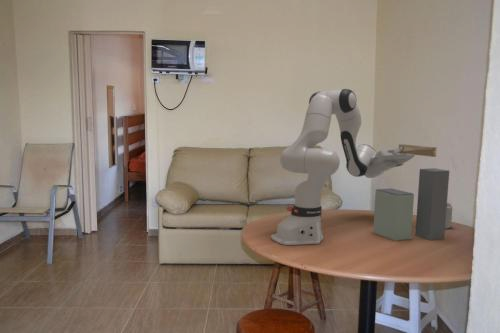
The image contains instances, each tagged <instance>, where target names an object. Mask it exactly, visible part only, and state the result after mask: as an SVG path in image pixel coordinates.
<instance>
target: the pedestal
mask: <svg viewBox="0 0 500 333" xmlns="http://www.w3.org/2000/svg"><path fill="white" fill-rule="evenodd" d="M418 177H419V178H418V188H417V189H418V190H417V202H416V203H417V204H416V220H415V236H416V237H419V238H422V239H425V240H429V241H431V240H432V241H433V240H439V239H444V238H445V235H446V234H445V232H446V229H445V222H446V209H447V203H448V193H449V180H450V170H448V169H441V168H437V167H436V168H419V175H418Z"/></svg>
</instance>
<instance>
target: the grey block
mask: <svg viewBox="0 0 500 333" xmlns="http://www.w3.org/2000/svg"><path fill="white" fill-rule="evenodd" d="M414 198H415V193H412V192H407V191H404V190H400V189H395V188H390V187H389V188H376V189H375V195H374V214H373V229H372V230H373V231H372V232H373V234H375V235H378V236H381V237H385V238H387V239H390V240H393V241H395V242H396V241H403V240H411V239H412V229H413V228H412V227H413V214H414Z"/></svg>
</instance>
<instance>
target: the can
mask: <svg viewBox="0 0 500 333" xmlns="http://www.w3.org/2000/svg"><path fill="white" fill-rule="evenodd" d="M452 214H453V206H452V203H450V202H447V209H446V222H445V230H448V229H450V228H451V227H452V219H453V218H452V217H453V215H452Z"/></svg>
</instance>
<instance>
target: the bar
mask: <svg viewBox="0 0 500 333" xmlns="http://www.w3.org/2000/svg"><path fill="white" fill-rule="evenodd" d="M399 147H403V148H404V150H403V151H400V152H398V153H405V154H413V155H415V156H424V157H431V158H433V157H435V158H437V157H436V156H437V147H434V146H425V145H424V146H423V145H415V144H404V143H402V144H401V143H399V144H398V148H399Z"/></svg>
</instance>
